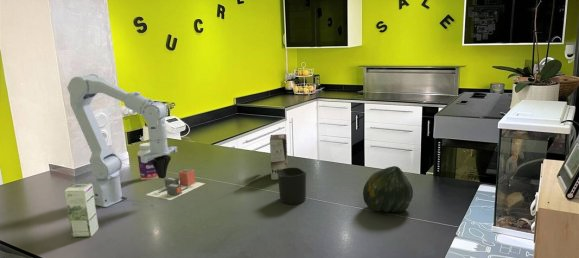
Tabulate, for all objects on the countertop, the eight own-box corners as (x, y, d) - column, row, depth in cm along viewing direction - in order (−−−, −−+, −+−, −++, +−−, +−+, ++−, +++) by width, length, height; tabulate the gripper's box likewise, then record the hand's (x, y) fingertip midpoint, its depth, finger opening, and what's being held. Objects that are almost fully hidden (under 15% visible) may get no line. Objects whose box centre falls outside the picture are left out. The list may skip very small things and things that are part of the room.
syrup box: (99, 228, 129) (92, 182, 126) (91, 237, 123) (84, 189, 120) (80, 229, 129) (73, 183, 126) (71, 238, 123) (63, 190, 120)
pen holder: (309, 195, 149) (308, 168, 147) (303, 206, 140) (302, 177, 138) (283, 194, 152) (282, 166, 150) (275, 204, 143) (274, 175, 141)
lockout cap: (188, 186, 159) (186, 172, 158) (180, 184, 161) (178, 171, 160) (195, 182, 163) (194, 169, 162) (187, 181, 165) (186, 168, 164)
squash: (351, 186, 141) (368, 160, 130) (390, 181, 147) (410, 156, 135) (367, 225, 134) (387, 202, 122) (407, 218, 139) (430, 196, 127)
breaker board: (170, 203, 147) (170, 199, 146) (146, 197, 153) (145, 194, 152) (205, 186, 162) (205, 183, 162) (181, 182, 168) (181, 179, 168)
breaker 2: (177, 196, 150) (176, 187, 149) (167, 194, 152) (166, 185, 151) (183, 193, 152) (182, 185, 152) (173, 191, 154) (172, 183, 154)
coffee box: (287, 179, 167) (286, 139, 163) (271, 180, 167) (269, 139, 163) (288, 172, 176) (286, 133, 172) (272, 172, 176) (270, 134, 172)
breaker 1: (173, 188, 157) (172, 180, 156) (165, 187, 159) (164, 179, 158) (179, 186, 160) (178, 178, 159) (171, 184, 162) (170, 176, 161)
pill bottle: (147, 183, 168) (143, 147, 164) (136, 179, 173) (132, 145, 170) (165, 177, 174) (161, 143, 170) (154, 174, 179) (150, 140, 176)
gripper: (149, 144, 135) (154, 185, 138) (182, 134, 148) (185, 172, 150) (134, 142, 139) (139, 182, 142) (167, 133, 151) (170, 170, 154)
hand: (162, 177), depth 146 cm, fingers closed
